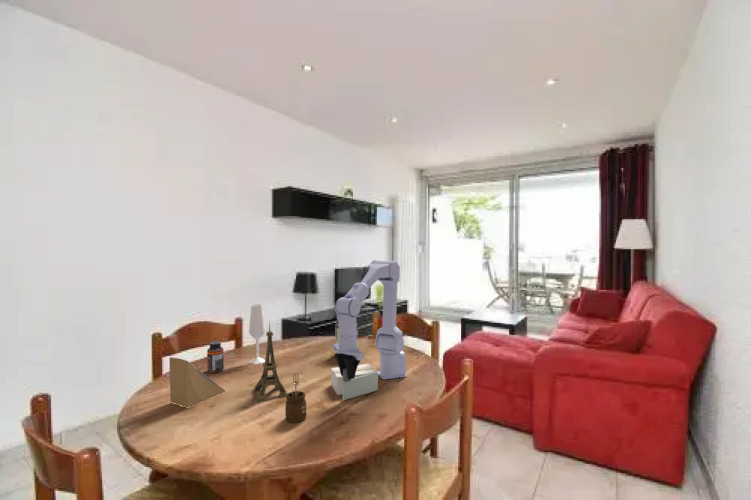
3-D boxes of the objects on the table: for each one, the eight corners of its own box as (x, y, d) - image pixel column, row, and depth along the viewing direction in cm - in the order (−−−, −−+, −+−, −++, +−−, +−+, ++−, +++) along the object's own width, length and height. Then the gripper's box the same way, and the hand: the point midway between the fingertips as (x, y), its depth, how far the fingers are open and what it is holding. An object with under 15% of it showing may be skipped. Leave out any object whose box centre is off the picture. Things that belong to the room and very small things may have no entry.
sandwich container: (228, 391, 130) (227, 348, 130) (188, 409, 117) (187, 360, 116) (210, 387, 134) (210, 345, 134) (170, 404, 121) (169, 356, 120)
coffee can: (358, 352, 176) (358, 321, 176) (357, 359, 166) (357, 326, 165) (336, 352, 176) (336, 321, 176) (333, 358, 166) (333, 326, 165)
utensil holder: (285, 424, 107) (284, 381, 107) (285, 414, 113) (285, 373, 113) (306, 422, 108) (306, 380, 108) (306, 412, 114) (305, 372, 114)
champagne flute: (260, 358, 167) (260, 303, 167) (268, 361, 163) (268, 305, 162) (246, 361, 162) (245, 305, 162) (254, 365, 158) (253, 307, 157)
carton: (368, 380, 140) (368, 363, 140) (377, 389, 131) (377, 371, 131) (331, 384, 136) (330, 367, 136) (337, 395, 127) (337, 376, 127)
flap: (374, 388, 132) (374, 361, 131) (379, 391, 129) (379, 363, 129) (341, 398, 123) (340, 369, 123) (345, 401, 121) (345, 371, 121)
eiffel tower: (256, 402, 121) (255, 324, 121) (251, 390, 131) (251, 318, 130) (289, 396, 126) (288, 321, 125) (282, 385, 135) (282, 315, 135)
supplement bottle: (205, 370, 151) (205, 342, 151) (221, 367, 155) (221, 339, 155) (209, 374, 147) (209, 345, 146) (225, 371, 150) (225, 342, 150)
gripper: (325, 332, 126) (325, 373, 126) (350, 341, 114) (350, 386, 115) (342, 329, 130) (343, 369, 130) (369, 337, 119) (369, 381, 119)
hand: (347, 377), depth 123 cm, fingers open, 3 cm apart
